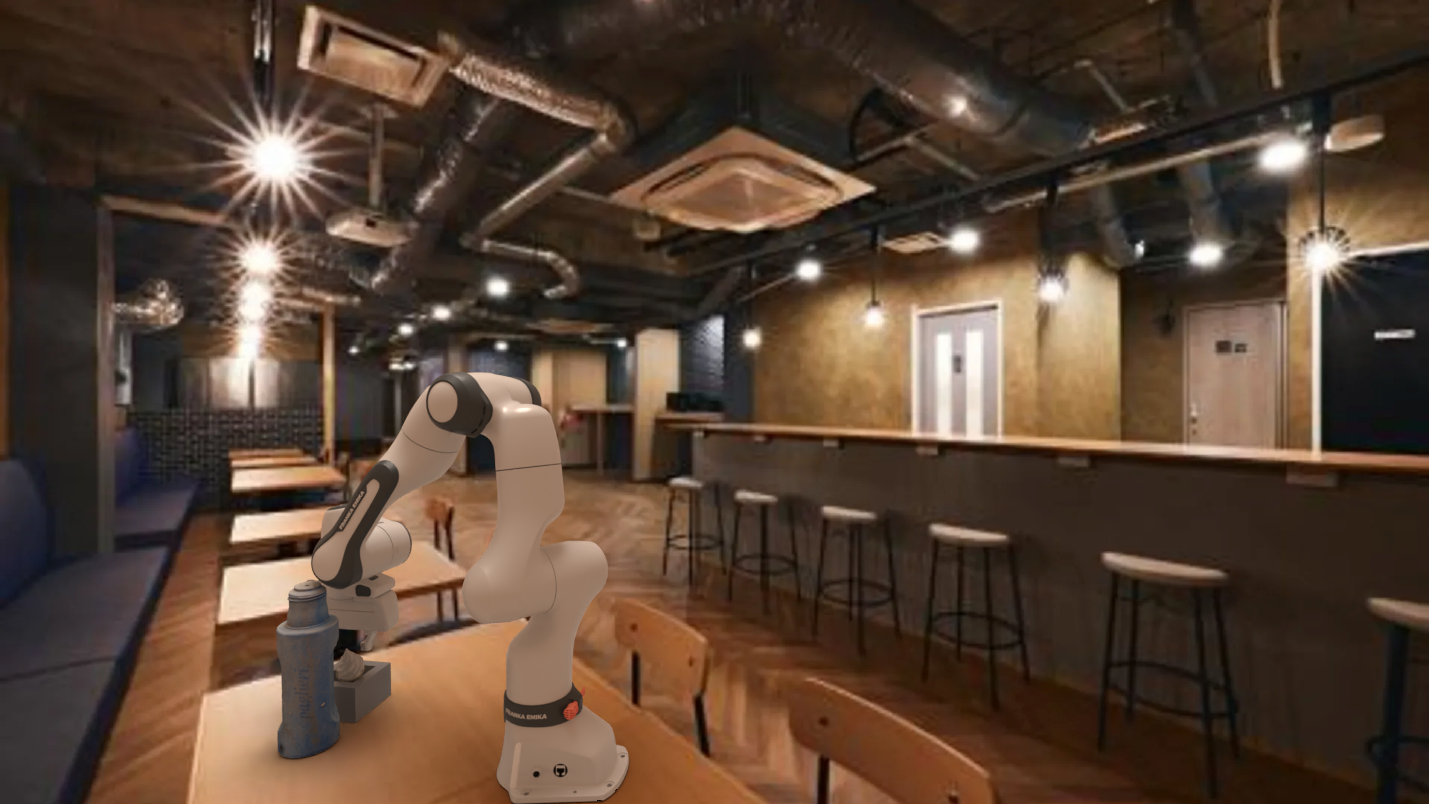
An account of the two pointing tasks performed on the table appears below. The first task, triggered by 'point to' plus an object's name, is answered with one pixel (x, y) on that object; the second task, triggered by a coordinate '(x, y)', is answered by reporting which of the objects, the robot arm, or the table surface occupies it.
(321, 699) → the bottle
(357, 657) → the ice cream cone
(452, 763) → the table surface
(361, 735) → the table surface
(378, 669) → the box
